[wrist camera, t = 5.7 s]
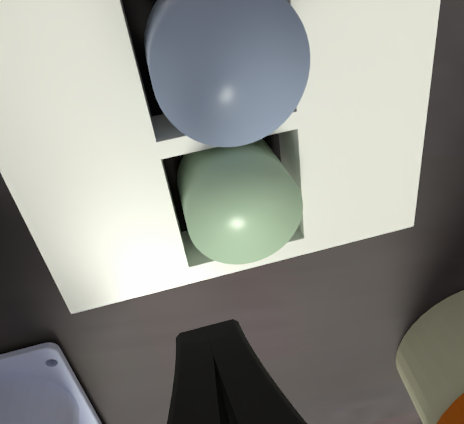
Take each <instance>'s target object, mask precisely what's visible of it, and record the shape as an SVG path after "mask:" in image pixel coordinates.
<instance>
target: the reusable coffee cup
mask: <svg viewBox="0 0 464 424" xmlns="http://www.w3.org/2000/svg"><path fill="white" fill-rule="evenodd" d="M396 367H397V369H398V372H399V374H400V376H401V378H402V381H403V383H404V385H405V387H406V389H407V391H408V393H409V395H410V397H411V399H412V401H413V404H414V406H415V408H416V410H417V412H418V414H419V416H420V418H421V420H422V422H423V424H464V290H463V291H460V292H458V293H456V294H454V295H452V296H450V297H447V298H446V299H444V300H442V301H441V302H439V303H438V304H436V305H435V306H433V307H432V308H431V309H429V310H428V311H427V312H426V313H424V314H423V315H422V316H421V317H420V318H419V319H418V320H417V321H416V322H415V323H414V324H413V325H412V326H411V327H410V329H409V330H408V331H407V333H406V334H405V335H404V337H403V339H402V341H401V343H400V345H399V347H398V350H397V354H396Z"/></svg>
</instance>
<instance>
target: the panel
mask: <svg viewBox="0 0 464 424" xmlns="http://www.w3.org/2000/svg"><path fill="white" fill-rule="evenodd" d="M286 1H287V2H288V3H289V4H290V5H291V6H292V7H293V9H294V10H295V11H296V13H297V14H298V16H299V18H300V19H301V21H302V23H303V25H304V28H305V31H306V34H307V37H308V42H309V47H310V70H309V77H308V81H307V85H306V88H305V90H304V93H303V96H302V98H301V100H300V101H299V103H298V105H297V107H296V108H295V110H294V111H293V113H292V114H291V115H290V116H289V118H288V119H287V120H286V121H285V122H284V123H283V124H282V125H281V126H280V127H279V128H278V129H276V130H275V131H273V132H272V133H271V134H269V135H272V134H277V133H279V145H280V157H281V163H282V165H283V166H284V167H285V169H286V170H287V172H288V173H289V174H290V176H291V177H292V178H293V180H294V181H295V183H296V184H297V186H298V188H299V190H300V192H301V195H302V201H303V212H302V217H301V221H300V223H299V226H298V228H297V230H296V231H295V233H294V235H293V236H292V237H291V239H290V240H289V241H288V242H287V243H286V244H285V245H284V246H283V247H282V248H281V249H279V250H278V251H277V252H275V253H274V254H272V255H270V256H268V257H267V258H264V259H262V260H259V261H256V262H253V263H248V264H239V265H234V264H224V263H220V262H217V261H214V260H212V259H210V258H208V257H206V256H205V255H204V254H202V253H201V252H200V251H199V250H198V249H197V248H196V247H195V245H194V244H193V242H192V240H191V238H190V236H189V233H188V230H187V231H183V232H181V229H180V225H179V221H178V217H177V213H176V209H175V205H174V201H173V198H172V194H171V190H170V186H169V182H168V178H167V174H166V170H165V166H164V162H163V159H165V158H170V157H174V156H179V155H183V154H188V153H192V152H196V151H201V150H205V149H210V148H214V147H215V146H210V145H206V144H203V143H200V142H197V141H195V140H193V139H191V138H189V137H187V136H186V135H185V134H183V133H182V132H180V131H179V130H178V129H177V128H176V127H175V126H174V125H173V124H172V123H171V122H170V121H169V120H168V119H167V117H166V116H165V114H160V115H155V116H152V115H151V111H150V108H149V104H148V100H147V96H146V92H145V88H144V84H143V80H142V76H141V72H140V68H139V65H138V61H137V57H136V53H135V49H134V45H133V41H132V37H131V33H130V29H129V25H128V22H127V18H126V14H125V10H124V6H123V2H122V0H0V173H1V175H2V177H3V179H4V181H5V183H6V185H7V187H8V189H9V191H10V193H11V195H12V197H13V199H14V201H15V203H16V205H17V207H18V209H19V211H20V213H21V215H22V217H23V219H24V221H25V223H26V225H27V227H28V229H29V231H30V233H31V235H32V237H33V239H34V241H35V243H36V245H37V247H38V249H39V251H40V253H41V255H42V257H43V259H44V261H45V263H46V265H47V267H48V269H49V271H50V273H51V275H52V277H53V279H54V281H55V283H56V285H57V287H58V289H59V291H60V293H61V295H62V297H63V299H64V301H65V303H66V305H67V307H68V309H69V311H70V313H71V314H74V313H77V312H81V311H85V310H89V309H93V308H97V307H101V306H105V305H109V304H113V303H116V302H120V301H124V300H128V299H132V298H136V297H140V296H144V295H148V294H151V293H155V292H159V291H163V290H167V289H171V288H175V287H179V286H183V285H187V284H190V283H194V282H198V281H202V280H206V279H210V278H214V277H218V276H222V275H225V274H229V273H233V272H237V271H241V270H245V269H249V268H253V267H257V266H261V265H264V264H268V263H272V262H276V261H280V260H284V259H288V258H292V257H296V256H299V255H303V254H307V253H311V252H315V251H319V250H323V249H327V248H331V247H335V246H338V245H342V244H346V243H350V242H354V241H358V240H362V239H366V238H370V237H373V236H377V235H381V234H385V233H389V232H393V231H397V230H401V229H405V228H409V227H412V226H414V219H415V210H416V202H417V193H418V185H419V177H420V168H421V160H422V151H423V143H424V134H425V126H426V118H427V109H428V101H429V92H430V84H431V75H432V67H433V59H434V50H435V42H436V33H437V25H438V16H439V8H440V0H286ZM267 136H268V135H267Z"/></svg>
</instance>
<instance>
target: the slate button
mask: <svg viewBox="0 0 464 424" xmlns="http://www.w3.org/2000/svg"><path fill="white" fill-rule="evenodd" d="M144 46H145V55H146V60H147V65H148V69H149V74H150V78H151V83H152V87H153V91H154V94H155V97H156V100H157V102H158V104H159V106H160V108H161V110H162V111H163V113H164V114H165V116H166V117H167V119H168V120H169V121H170V122H171V123H172V124H173V125H174V126H175V127H176V128H177V129H178V130H179V131H180V132H182V133H183V134H185V135H186V136H187V137H189V138H191V139H193V140H195V141H197V142H200V143H203V144H206V145H210V146H215V147H237V146H243V145H246V144H250V143H253V142H255V141H258V140H260V139H262V138H264V137H266V136H267V135H269V134H271V133H272V132H273V131H275V130H276V129H278V128H279V127H280V126H281V125H282V124H283V123H284V122H285V121H286V120H287V119H288V118H289V116H290V115H291V114H292V113H293V111H294V110H295V108H296V107H297V105H298V103H299V101H300V100H301V98H302V96H303V93H304V90H305V88H306V85H307V81H308V77H309V70H310V47H309V42H308V37H307V34H306V31H305V28H304V25H303V23H302V21H301V19H300V18H299V16H298V14H297V13H296V11H295V10H294V9H293V7H292V6H291V5H290V4H289V3H288V2H287V1H286V0H157V1H156V3H155V4H154V6H153V8H152V10H151V12H150V15H149V18H148V20H147V24H146V29H145V38H144Z"/></svg>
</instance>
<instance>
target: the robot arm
mask: <svg viewBox="0 0 464 424" xmlns="http://www.w3.org/2000/svg"><path fill="white" fill-rule="evenodd" d="M49 359H54V360H49ZM0 424H102V423H101V421H100V419H99V417H98V416H97V414H96V412H95V410H94V408H93V407H92V405H91V403H90V401H89V399H88V398H87V396H86V394H85V392H84V390H83V389H82V387H81V385H80V383H79V381H78V380H77V378H76V376H75V374H74V372H73V371H72V369H71V367H70V365H69V363H68V362H67V360H66V358H65V356H64V354H63V353H62V351H61V349H60V347H59V346H58V345H57V344H54V343H50V342H48V343H43V344H39V345H35V346H31V347H27V348H24V349H20V350H16V351H12V352H8V353H4V354H1V355H0ZM167 424H307V423H306V422H305V421H304V419H303V418H302V417H301V416H300V414H299V413H298V412H297V411H296V409H295V408H294V407H293V406H292V404H291V403H290V402H289V401H288V399H287V398H286V397H285V395H284V394H283V393H282V391H281V390H280V389H279V387H278V386H277V385H276V383H275V382H274V381H273V379H272V378H271V376H270V375H269V373H268V372H267V371H266V369H265V368H264V366H263V365H262V363H261V362H260V360H259V359H258V357H257V356H256V354H255V352H254V351H253V349H252V347H251V346H250V344H249V342H248V341H247V339H246V337H245V335H244V333H243V331H242V329H241V327H240V325H239V322H238V321H236V320H233V319H232V320H228V321H224V322H220V323H217V324H213V325H209V326H205V327H201V328H198V329H194V330H190V331H186V332H182V333H180V334H179V335H178V336H177V337H176V363H175V375H174V383H173V391H172V397H171V403H170V409H169V415H168V421H167Z"/></svg>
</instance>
